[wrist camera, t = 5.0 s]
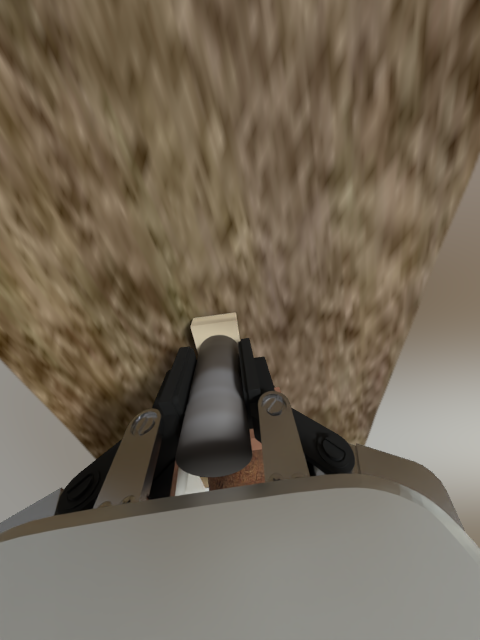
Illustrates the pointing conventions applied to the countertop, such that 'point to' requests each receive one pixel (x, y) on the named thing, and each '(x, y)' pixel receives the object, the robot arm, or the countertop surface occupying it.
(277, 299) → the countertop surface
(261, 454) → the coconut
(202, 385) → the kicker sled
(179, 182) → the countertop surface
